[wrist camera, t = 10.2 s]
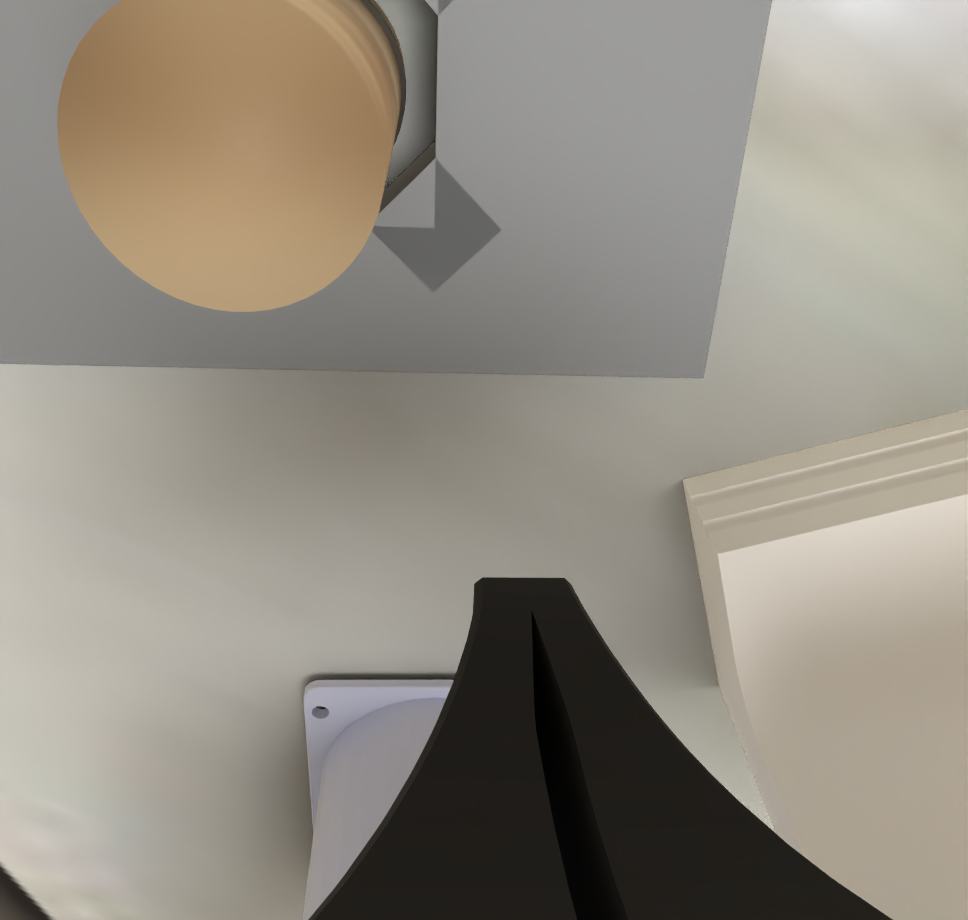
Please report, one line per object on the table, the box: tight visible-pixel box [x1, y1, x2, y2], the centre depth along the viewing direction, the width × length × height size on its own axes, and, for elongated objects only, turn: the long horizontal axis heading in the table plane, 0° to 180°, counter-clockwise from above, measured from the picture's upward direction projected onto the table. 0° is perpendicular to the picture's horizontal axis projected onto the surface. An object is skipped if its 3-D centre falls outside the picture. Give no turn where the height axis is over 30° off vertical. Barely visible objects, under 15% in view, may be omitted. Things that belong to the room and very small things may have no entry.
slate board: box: [0, 0, 772, 378], centre depth 18 cm, size 12×18×2 cm, turn 87°
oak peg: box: [57, 0, 406, 312], centre depth 15 cm, size 4×4×9 cm
